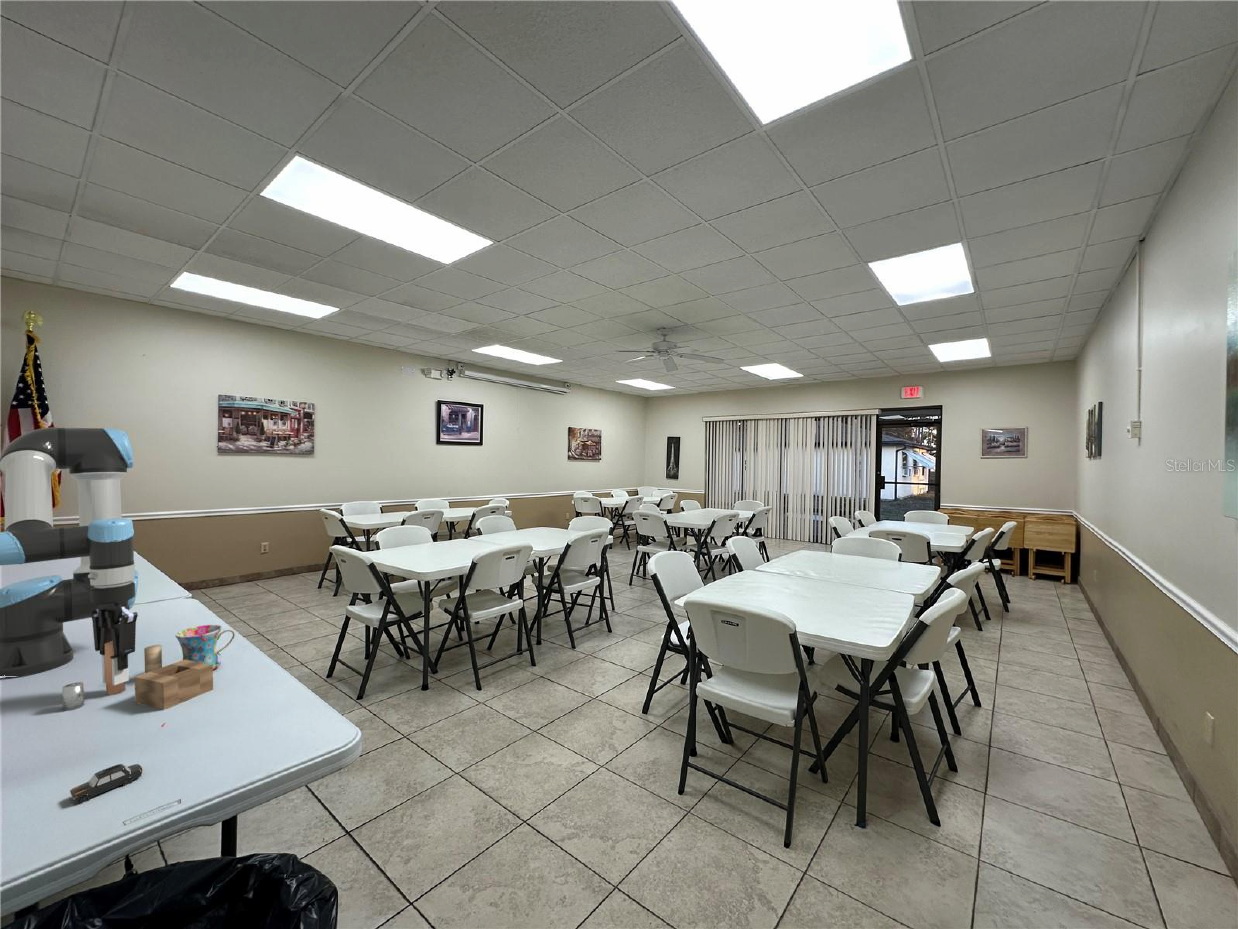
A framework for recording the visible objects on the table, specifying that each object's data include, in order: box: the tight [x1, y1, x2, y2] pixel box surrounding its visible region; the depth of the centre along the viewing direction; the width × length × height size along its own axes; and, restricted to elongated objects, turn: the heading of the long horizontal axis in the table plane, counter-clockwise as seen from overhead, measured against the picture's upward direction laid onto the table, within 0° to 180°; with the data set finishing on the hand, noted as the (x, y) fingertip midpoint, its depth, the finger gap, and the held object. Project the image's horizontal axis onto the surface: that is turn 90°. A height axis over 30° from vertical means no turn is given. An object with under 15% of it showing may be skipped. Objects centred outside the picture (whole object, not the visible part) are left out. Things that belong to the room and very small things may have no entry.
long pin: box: [105, 641, 126, 696], centre depth 119 cm, size 3×3×12 cm
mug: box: [175, 624, 236, 670], centre depth 131 cm, size 12×9×11 cm
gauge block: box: [134, 659, 214, 710], centre depth 117 cm, size 10×10×6 cm
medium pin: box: [143, 644, 163, 674], centre depth 126 cm, size 3×3×8 cm
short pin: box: [61, 681, 85, 712], centre depth 112 cm, size 3×3×5 cm
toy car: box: [69, 722, 167, 804], centre depth 86 cm, size 4×12×8 cm, turn 147°
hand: (115, 681), depth 119 cm, fingers closed on long pin, 3 cm apart
